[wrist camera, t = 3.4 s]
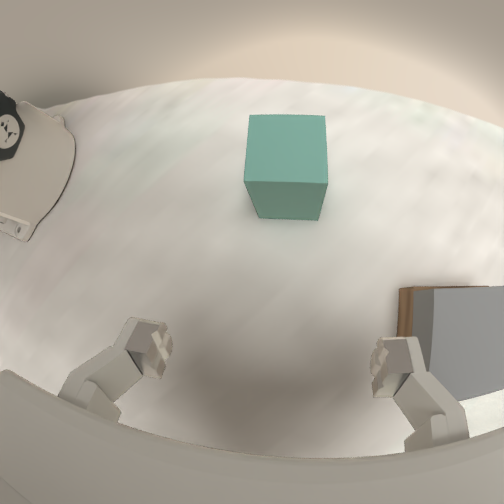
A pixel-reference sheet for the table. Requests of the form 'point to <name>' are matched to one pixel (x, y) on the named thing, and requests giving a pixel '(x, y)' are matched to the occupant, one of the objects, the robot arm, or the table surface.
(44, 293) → the table surface
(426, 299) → the tower top
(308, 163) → the teal block
